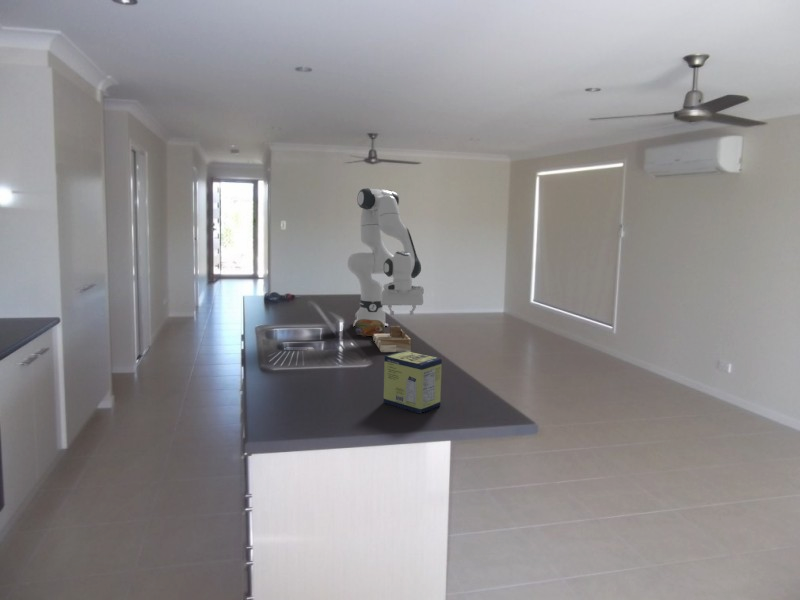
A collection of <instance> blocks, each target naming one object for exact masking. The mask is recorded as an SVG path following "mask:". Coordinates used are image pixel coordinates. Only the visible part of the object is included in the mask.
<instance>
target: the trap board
mask: <svg viewBox="0 0 800 600" xmlns="http://www.w3.org/2000/svg"><path fill="white" fill-rule="evenodd" d="M372 338H373V339H372V340H373V342H374V341H375V342H374V343H375V345H376V346H377V348H378V349H379V351H380V352H381V353H398V352H402V351H409V352H412V351H411V350H412V349H411V348H412V347H411V346H412V339H411V338H410V336H408V335H407V333H406V332H405V331H404V330H403V329H402V328H401V337H391V336H390V333H383V334H373V337H372Z"/></svg>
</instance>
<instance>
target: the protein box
mask: <svg viewBox="0 0 800 600" xmlns="http://www.w3.org/2000/svg"><path fill="white" fill-rule="evenodd" d="M442 360H443V359H442V358H440V357H436V356H432V355H431V356H430V355H425V354H420V353H416V352H412V351H411V352H409V351H402V352H393V353H391V354H387V355H384V363H383V365H384V367H383V368H384V369H383V370H384V371H383V402H384V404H386V403H387V404H388V405H389V404H391V405H390V406H393V405H394V406H393V407H396V406H397V407H396V408H399V407H401V408H400V409H403V408H404V409H403V410H406V409H408V410H407V411H409V410H411V411H410V412H413V411H415V412H414V413H416V412H418V413H417V414H419V413H421V414H423V413H422V412H424V413H426V412H428V410H429V411H431V410H433V408H434V409H436V408H439V407H441V393H442V392H441V391H442V390H441V389H442V388H441V387H442V365H443V364H442V363H443V361H442ZM387 404H386V405H387ZM438 406H439V407H438ZM435 407H436V408H435ZM430 409H431V410H430ZM425 411H426V412H425Z"/></svg>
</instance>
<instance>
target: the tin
mask: <svg viewBox="0 0 800 600" xmlns="http://www.w3.org/2000/svg"><path fill="white" fill-rule="evenodd" d="M353 327H354V326H353ZM353 329H354V331H355V333H356V335H358V336H359V335H363V336H362V337H366V336H372V337H371V338H373V334H385V330H386V327H385V326H384V324H383V323H382V322H381V321H379V320H369V319H360V320H358V321H357V322H356V323H355V327H354V328H353Z"/></svg>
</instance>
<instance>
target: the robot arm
mask: <svg viewBox="0 0 800 600" xmlns="http://www.w3.org/2000/svg"><path fill="white" fill-rule="evenodd" d="M356 201H357V205H358V206H359V208H360V209H362V210H361V214H360V240H361V243H362V244H364V245H365V246H366V247H369V248H370V249H371V252H357V253H352V254H350V256H349V257H348V259H347V268H348V270H349V271H350V273H352V274H353V275H355V277H356V278H357V279H358V281H359V286H360V299H359V309H357V312H355V315H354V316H355V320H354V321H353V325H352V327H354V326H355V323H356V322H357V321H358V320H360V319H369V320H379V321H381V322H382V323H383V324H384V326H387V327H389V324H388V323H386V310H384V308H383V306H387V307H388V310H389V313H390V315H392V316H393V315H395V311H394V310H392V307H393V306H411V308H412V309H411V310H409V315H411V316H413V315H414V311H415V310H416V308H417V307H416V306H423V305H424V296H423V295H424V287H422V286H421V285H412V283H413V281H412V280H413V279H416V278H417V277H418V276H419V275H420V273H421V271H422V264H421V262H420V260H419V258H418V255H417V252H416V248H415V245H414V242H413V239H412V236H411V232H410V230H409V228H408V227H406V225H404V223H403V221H402V219H401V213H400V207H399V203H400V197H399V195H398V193H397V192H395V191H393V190H387V189H383V188H362V189H360V190H359V191H358V193H357V199H356ZM383 234H385V235H386V236H389V237H392V238H394V239H396V240H398V241H399V242H400V243H401V244H402V246H403V250H404V251H403V250H397V251H395V252H394V254H393V253H391V252H390V250H388V249H387V247H386V245H385V242H384V239H383ZM373 274H374V275H379V274H381V275H386V276H387V277H389V278H392V280H393V281H392V282H388V283H385V284H383V286H382V284H381V283H380V282H379V281H377V280H375V279H373V278H372V275H373Z"/></svg>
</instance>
